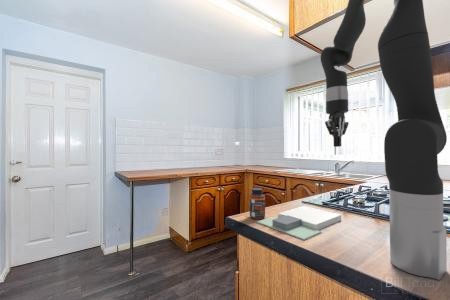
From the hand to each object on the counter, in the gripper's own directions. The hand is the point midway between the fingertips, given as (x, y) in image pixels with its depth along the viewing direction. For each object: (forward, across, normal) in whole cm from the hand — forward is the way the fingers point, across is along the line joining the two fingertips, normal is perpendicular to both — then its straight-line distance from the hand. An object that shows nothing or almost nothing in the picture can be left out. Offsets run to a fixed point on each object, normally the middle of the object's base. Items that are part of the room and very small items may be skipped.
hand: (337, 146), depth 85 cm
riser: (+27, -10, +6) cm, 29 cm away
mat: (+27, -23, +6) cm, 36 cm away
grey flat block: (+27, -22, +6) cm, 35 cm away
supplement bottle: (+27, -23, +20) cm, 41 cm away
